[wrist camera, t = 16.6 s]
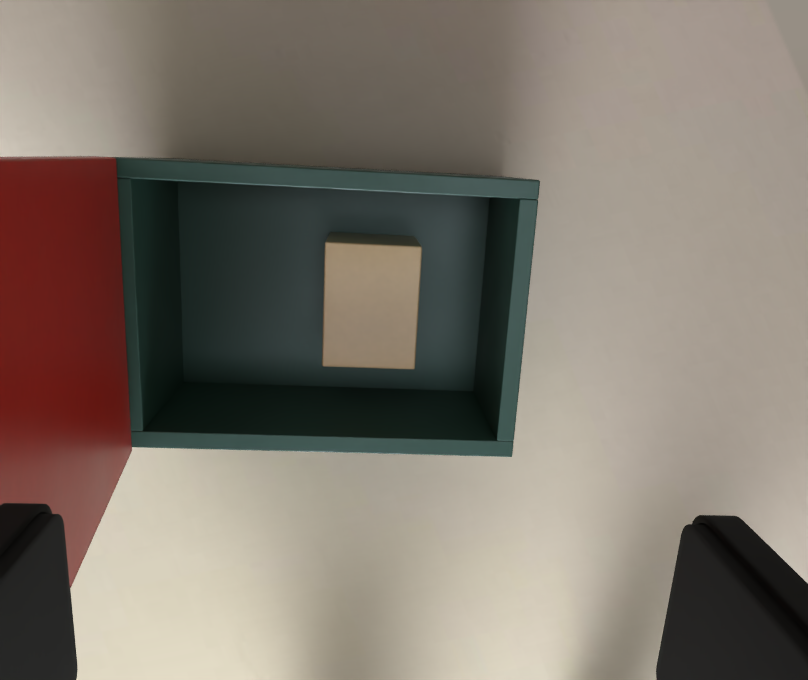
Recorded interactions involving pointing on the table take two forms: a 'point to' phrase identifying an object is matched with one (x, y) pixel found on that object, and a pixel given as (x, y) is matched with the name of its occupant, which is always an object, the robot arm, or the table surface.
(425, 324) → the box
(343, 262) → the kraft parcel
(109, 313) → the lid
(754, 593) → the robot arm
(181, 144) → the table surface
